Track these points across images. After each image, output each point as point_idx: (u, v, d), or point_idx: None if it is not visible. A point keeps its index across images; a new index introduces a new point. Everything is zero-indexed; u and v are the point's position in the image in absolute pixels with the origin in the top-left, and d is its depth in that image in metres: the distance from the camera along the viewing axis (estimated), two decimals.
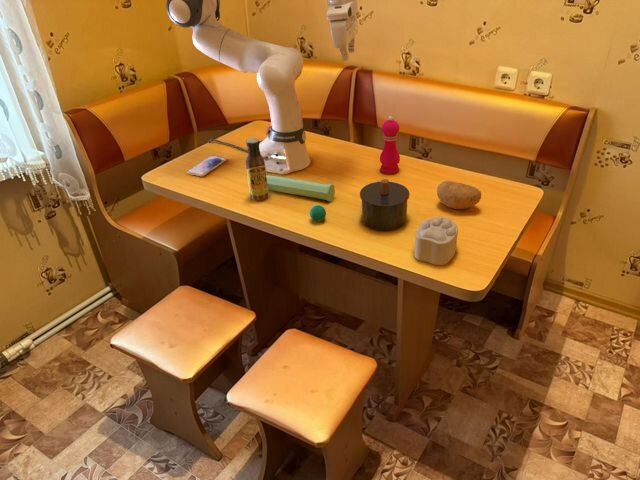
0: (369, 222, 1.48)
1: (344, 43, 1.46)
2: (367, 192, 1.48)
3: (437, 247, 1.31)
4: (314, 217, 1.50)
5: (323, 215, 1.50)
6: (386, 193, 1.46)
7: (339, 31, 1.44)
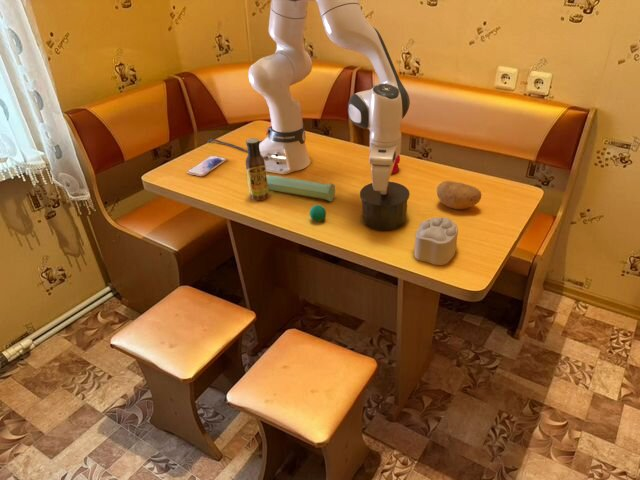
0: (369, 222, 1.48)
1: (385, 188, 1.35)
2: (367, 192, 1.48)
3: (437, 247, 1.31)
4: (314, 217, 1.50)
5: (323, 215, 1.50)
6: (386, 193, 1.46)
7: (381, 176, 1.34)
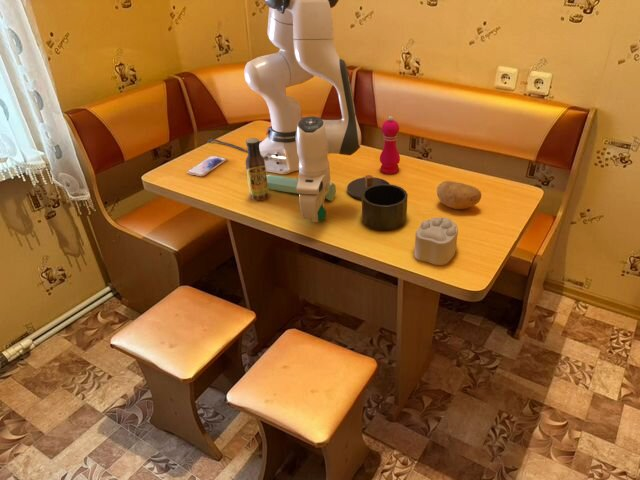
0: (369, 222, 1.48)
1: (313, 216, 1.41)
2: (353, 186, 1.67)
3: (437, 247, 1.31)
4: None
5: (323, 215, 1.50)
6: None
7: (308, 205, 1.39)
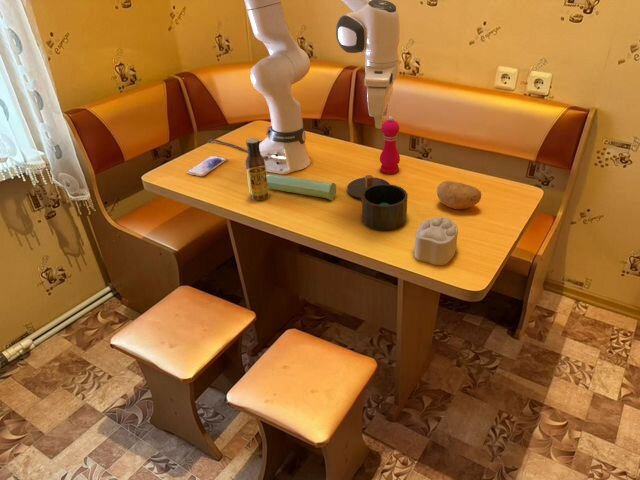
0: (369, 222, 1.48)
1: (381, 113, 1.28)
2: (353, 186, 1.67)
3: (437, 247, 1.31)
4: None
5: None
6: None
7: (377, 100, 1.26)
